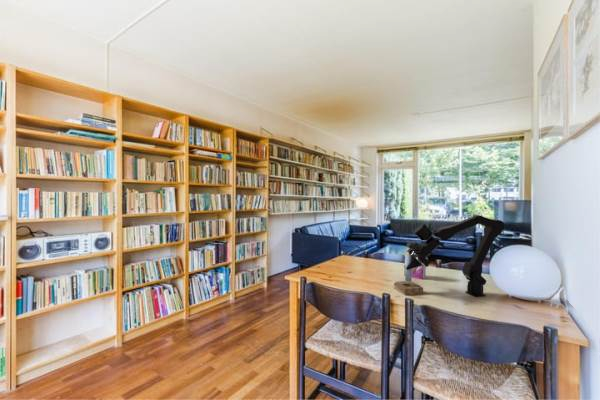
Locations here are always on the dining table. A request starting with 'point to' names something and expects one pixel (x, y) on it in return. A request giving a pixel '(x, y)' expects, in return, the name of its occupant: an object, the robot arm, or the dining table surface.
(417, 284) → the mat
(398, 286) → the hole block
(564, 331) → the dining table surface
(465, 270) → the robot arm
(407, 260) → the peg
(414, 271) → the candy bar box
